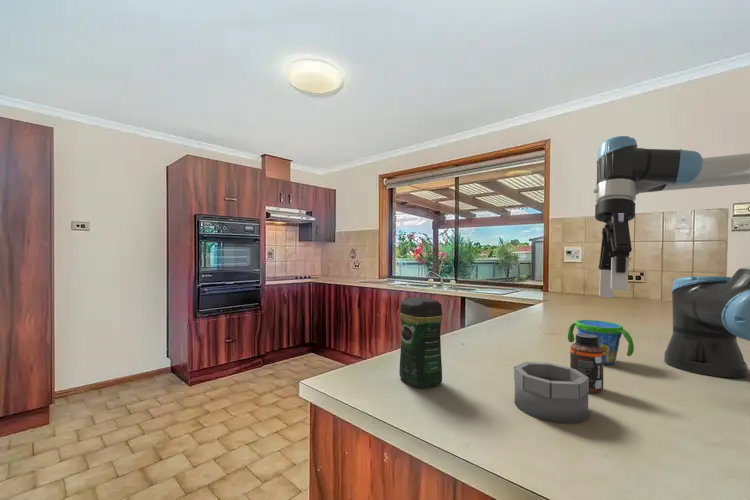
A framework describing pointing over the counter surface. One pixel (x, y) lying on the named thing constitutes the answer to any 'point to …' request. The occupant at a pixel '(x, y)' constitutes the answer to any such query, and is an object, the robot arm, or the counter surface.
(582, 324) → the snack cup
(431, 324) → the coffee jar
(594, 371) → the supplement bottle
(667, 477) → the counter surface
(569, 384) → the octagonal grey sleeve
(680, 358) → the robot arm
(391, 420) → the counter surface
